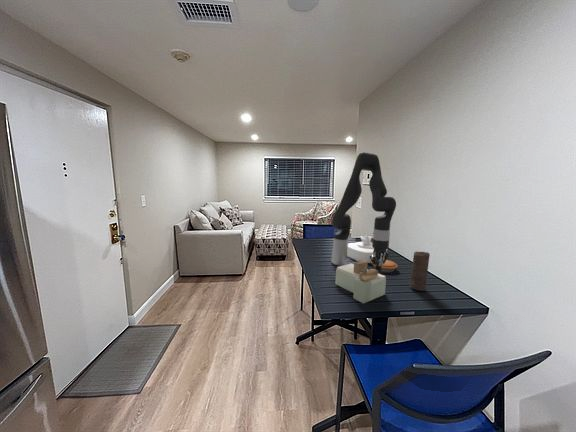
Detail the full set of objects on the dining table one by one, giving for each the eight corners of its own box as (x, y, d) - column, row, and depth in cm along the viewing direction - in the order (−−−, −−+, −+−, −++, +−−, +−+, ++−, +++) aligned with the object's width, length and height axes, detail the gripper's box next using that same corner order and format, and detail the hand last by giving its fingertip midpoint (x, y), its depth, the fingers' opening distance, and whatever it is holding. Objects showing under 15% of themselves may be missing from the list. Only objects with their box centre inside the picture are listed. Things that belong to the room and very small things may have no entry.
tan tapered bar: (359, 278, 119) (359, 269, 118) (372, 274, 125) (373, 265, 124) (364, 280, 117) (365, 271, 116) (377, 276, 122) (378, 267, 122)
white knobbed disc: (340, 253, 191) (342, 232, 188) (366, 250, 202) (367, 230, 199) (364, 264, 169) (366, 241, 166) (391, 259, 179) (393, 237, 177)
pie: (395, 266, 166) (395, 259, 165) (399, 275, 151) (400, 267, 150) (370, 263, 170) (371, 256, 169) (372, 272, 155) (372, 264, 154)
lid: (336, 269, 135) (337, 258, 134) (350, 265, 142) (351, 254, 141) (371, 284, 118) (372, 271, 117) (385, 279, 124) (386, 266, 123)
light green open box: (329, 285, 134) (330, 268, 132) (350, 279, 143) (351, 262, 142) (363, 303, 116) (365, 283, 115) (384, 294, 126) (386, 276, 124)
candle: (424, 293, 127) (429, 255, 124) (408, 290, 131) (412, 252, 128) (425, 288, 134) (430, 251, 131) (410, 284, 138) (414, 249, 134)
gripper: (382, 235, 129) (379, 267, 131) (365, 238, 121) (363, 272, 124) (395, 238, 123) (392, 272, 125) (379, 241, 115) (376, 278, 118)
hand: (378, 272), depth 125 cm, fingers closed
